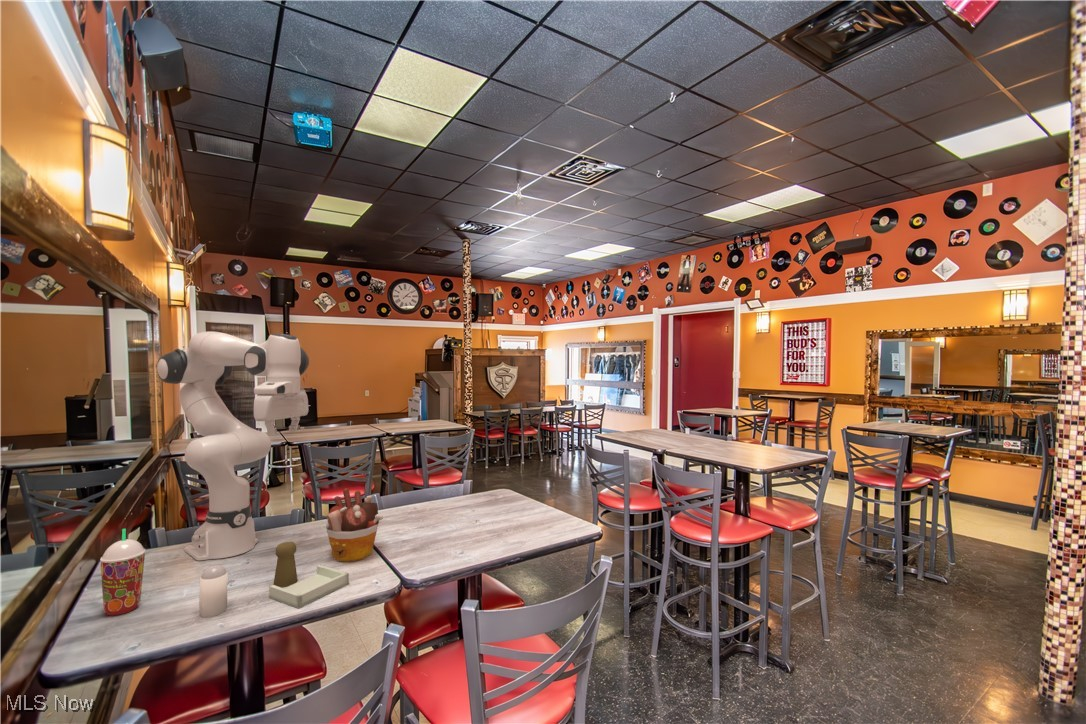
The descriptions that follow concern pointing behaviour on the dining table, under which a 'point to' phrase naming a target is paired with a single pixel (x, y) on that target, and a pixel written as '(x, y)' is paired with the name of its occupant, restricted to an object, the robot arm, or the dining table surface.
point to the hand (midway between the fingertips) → (282, 433)
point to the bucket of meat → (352, 527)
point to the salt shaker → (213, 591)
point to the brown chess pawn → (285, 565)
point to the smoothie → (122, 575)
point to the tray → (310, 587)
